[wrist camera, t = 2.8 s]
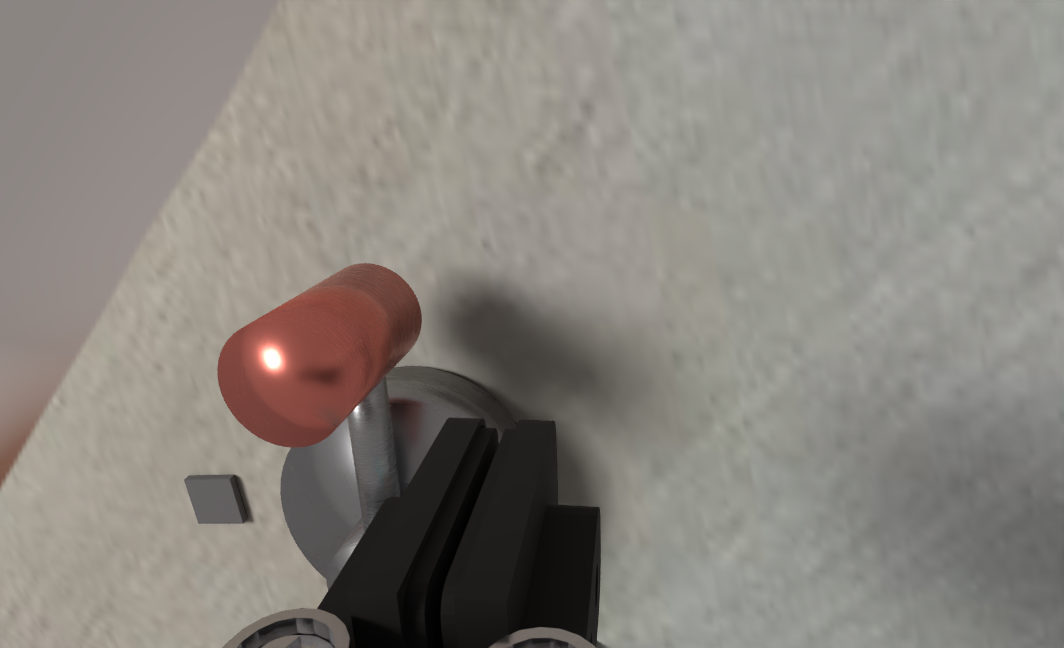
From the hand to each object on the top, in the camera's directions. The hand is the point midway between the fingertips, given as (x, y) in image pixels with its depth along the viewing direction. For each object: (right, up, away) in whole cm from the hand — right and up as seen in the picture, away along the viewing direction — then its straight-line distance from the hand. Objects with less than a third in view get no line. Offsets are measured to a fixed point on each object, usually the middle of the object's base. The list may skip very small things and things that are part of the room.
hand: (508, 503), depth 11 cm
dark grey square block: (-12, -4, +16) cm, 20 cm away
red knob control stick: (-4, 0, +13) cm, 13 cm away
